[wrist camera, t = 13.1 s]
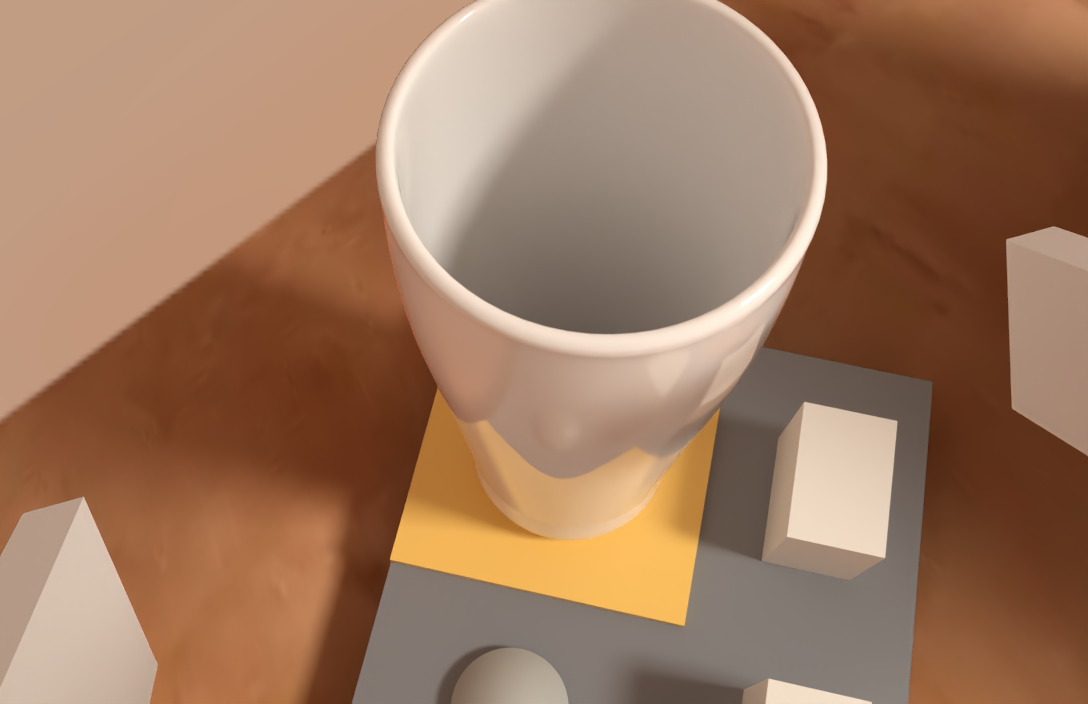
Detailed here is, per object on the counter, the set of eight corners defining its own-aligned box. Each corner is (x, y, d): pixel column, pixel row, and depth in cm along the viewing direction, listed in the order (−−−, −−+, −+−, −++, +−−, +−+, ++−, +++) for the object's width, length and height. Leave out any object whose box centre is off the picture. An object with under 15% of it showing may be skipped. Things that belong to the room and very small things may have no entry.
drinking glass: (428, 365, 30) (336, -1, 16) (655, 320, 30) (756, -71, 16) (473, 597, 27) (410, 403, 13) (719, 542, 28) (904, 303, 14)
